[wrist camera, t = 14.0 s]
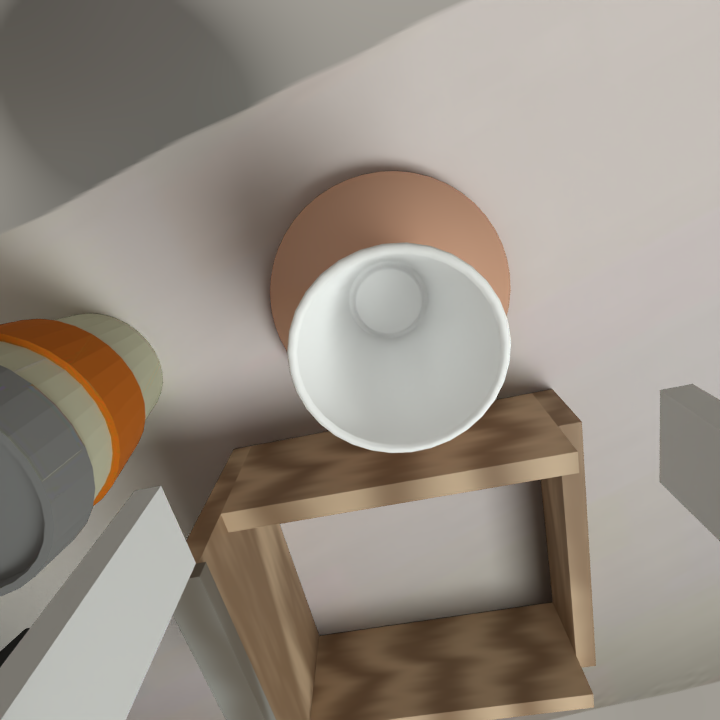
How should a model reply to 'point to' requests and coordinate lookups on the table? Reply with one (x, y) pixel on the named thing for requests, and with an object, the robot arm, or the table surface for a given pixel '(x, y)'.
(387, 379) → the cup
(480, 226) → the saucer
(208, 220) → the table surface
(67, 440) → the reusable coffee cup
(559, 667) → the frame
